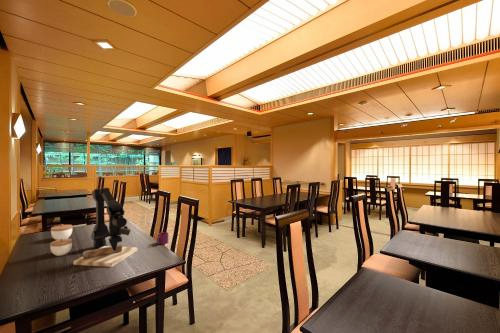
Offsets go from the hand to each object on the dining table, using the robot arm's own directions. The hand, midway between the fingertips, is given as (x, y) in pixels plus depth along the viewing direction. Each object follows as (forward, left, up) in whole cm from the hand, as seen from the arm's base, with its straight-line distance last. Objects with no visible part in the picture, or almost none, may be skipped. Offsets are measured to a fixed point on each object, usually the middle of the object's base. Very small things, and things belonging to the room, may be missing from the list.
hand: (114, 250), depth 138 cm
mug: (+17, +26, -4) cm, 31 cm away
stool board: (-4, 0, -4) cm, 6 cm away
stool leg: (-6, -2, -2) cm, 6 cm away
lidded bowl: (-61, +26, -4) cm, 67 cm away
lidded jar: (-36, +1, -4) cm, 36 cm away
